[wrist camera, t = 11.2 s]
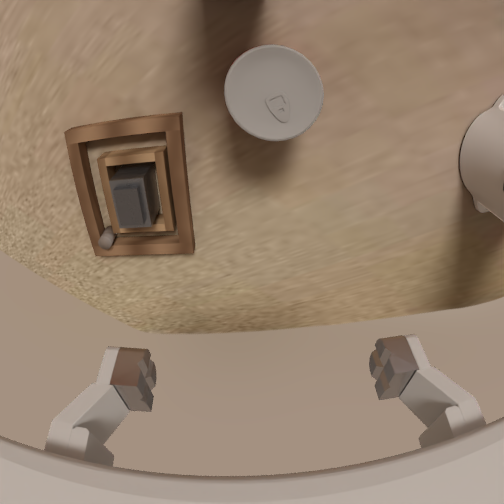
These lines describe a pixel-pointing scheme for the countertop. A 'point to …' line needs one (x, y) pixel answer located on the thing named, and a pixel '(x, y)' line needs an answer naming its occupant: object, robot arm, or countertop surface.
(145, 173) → the grey block
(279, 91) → the canned food
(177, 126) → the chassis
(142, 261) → the countertop surface
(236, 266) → the countertop surface
